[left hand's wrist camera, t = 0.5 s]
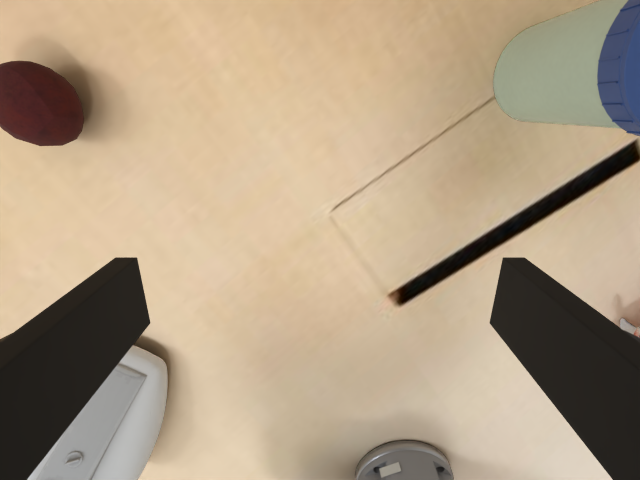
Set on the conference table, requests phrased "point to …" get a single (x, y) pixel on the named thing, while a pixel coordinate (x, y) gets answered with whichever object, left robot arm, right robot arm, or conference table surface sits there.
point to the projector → (113, 425)
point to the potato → (38, 104)
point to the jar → (557, 68)
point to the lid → (622, 69)
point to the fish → (629, 327)
